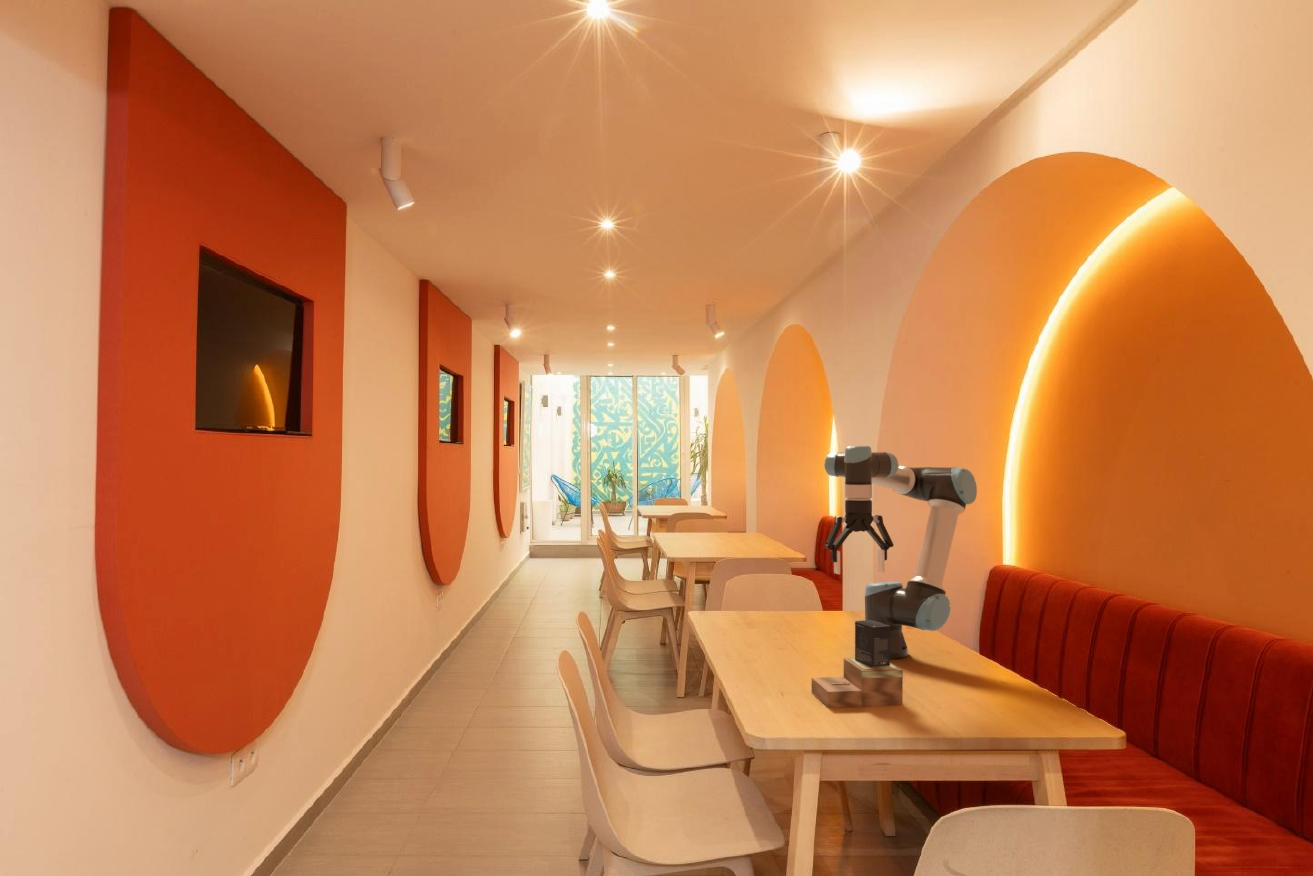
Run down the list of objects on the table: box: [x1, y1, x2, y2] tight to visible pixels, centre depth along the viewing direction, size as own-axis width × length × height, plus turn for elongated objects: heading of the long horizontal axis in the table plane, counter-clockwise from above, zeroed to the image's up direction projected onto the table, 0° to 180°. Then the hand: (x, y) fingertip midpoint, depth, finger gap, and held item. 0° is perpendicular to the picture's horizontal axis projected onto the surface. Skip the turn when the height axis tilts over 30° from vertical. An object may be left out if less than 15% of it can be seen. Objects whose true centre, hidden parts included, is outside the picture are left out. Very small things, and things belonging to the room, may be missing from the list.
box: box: [854, 619, 891, 667], centre depth 194 cm, size 8×6×11 cm
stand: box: [811, 657, 904, 709], centre depth 193 cm, size 20×12×9 cm, turn 98°
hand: (859, 572), depth 212 cm, fingers open, 13 cm apart
